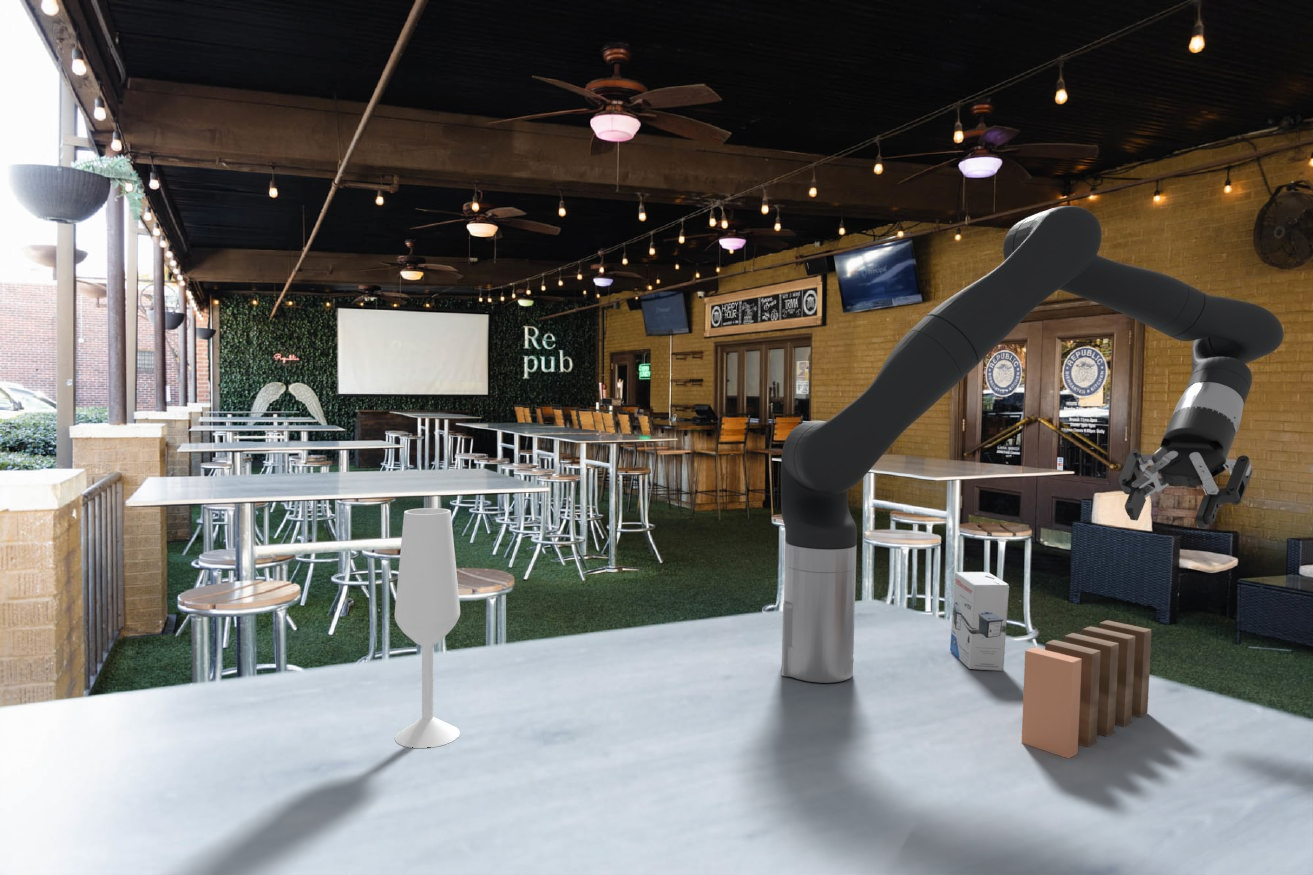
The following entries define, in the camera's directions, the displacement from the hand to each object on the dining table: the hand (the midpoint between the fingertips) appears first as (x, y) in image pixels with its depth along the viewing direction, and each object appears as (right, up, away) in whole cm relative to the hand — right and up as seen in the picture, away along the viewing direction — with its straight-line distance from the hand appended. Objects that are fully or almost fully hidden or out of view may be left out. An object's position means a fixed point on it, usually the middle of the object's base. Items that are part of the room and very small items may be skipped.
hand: (1165, 520), depth 107 cm
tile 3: (-15, -22, -11) cm, 29 cm away
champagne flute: (-88, -22, -15) cm, 92 cm away
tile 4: (-18, -22, -13) cm, 32 cm away
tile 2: (-12, -22, -8) cm, 26 cm away
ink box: (-19, -21, +13) cm, 31 cm away
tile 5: (-22, -22, -16) cm, 35 cm away
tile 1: (-8, -22, -5) cm, 24 cm away
